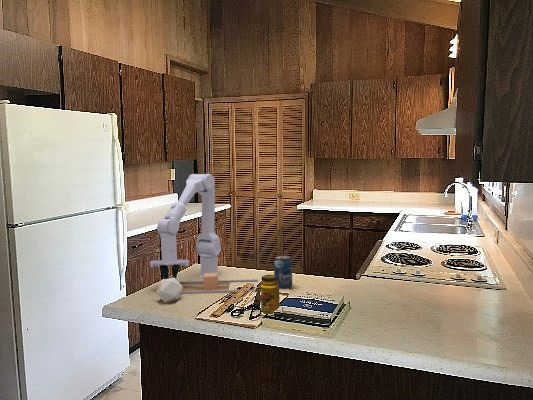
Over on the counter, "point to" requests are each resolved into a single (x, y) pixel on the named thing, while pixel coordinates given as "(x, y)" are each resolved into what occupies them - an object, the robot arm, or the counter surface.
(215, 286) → the cube
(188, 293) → the lane rails
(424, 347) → the counter surface
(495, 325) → the counter surface
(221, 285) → the large flat tan board
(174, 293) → the die
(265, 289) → the condiment
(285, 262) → the soda can
